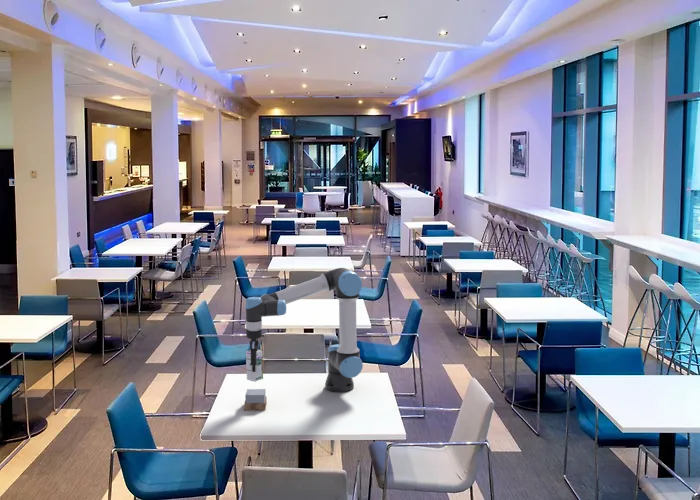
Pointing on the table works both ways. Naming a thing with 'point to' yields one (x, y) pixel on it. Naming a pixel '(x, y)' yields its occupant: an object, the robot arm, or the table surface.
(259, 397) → the slate top block
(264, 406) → the walnut base block
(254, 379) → the syrup box
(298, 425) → the table surface
